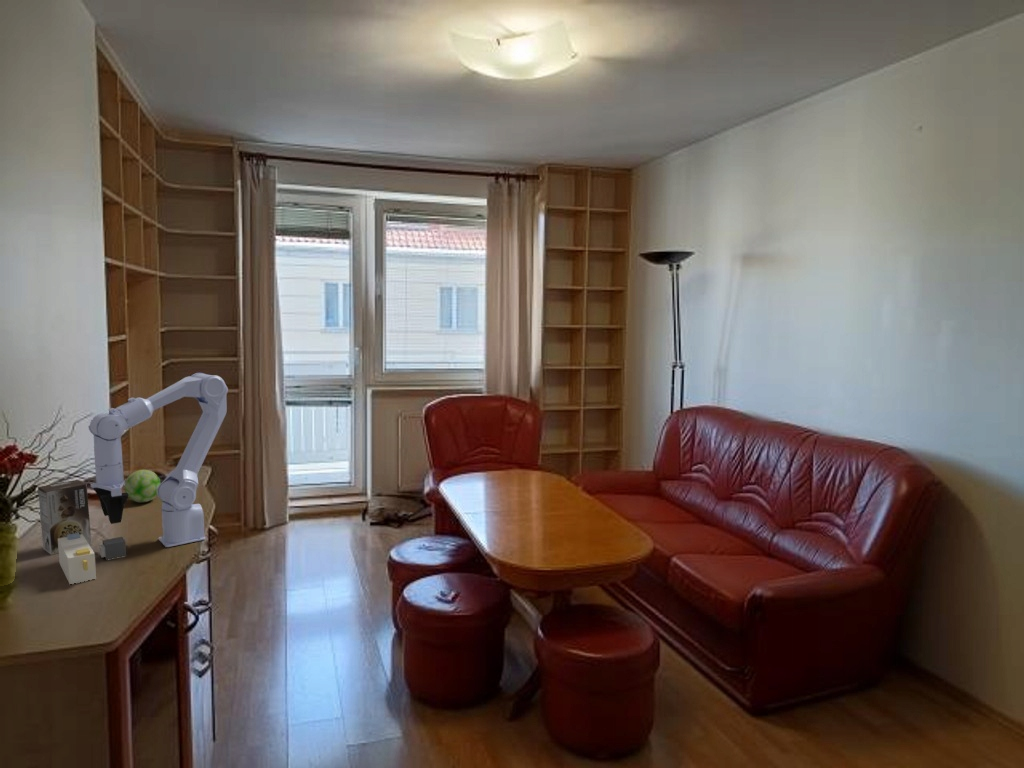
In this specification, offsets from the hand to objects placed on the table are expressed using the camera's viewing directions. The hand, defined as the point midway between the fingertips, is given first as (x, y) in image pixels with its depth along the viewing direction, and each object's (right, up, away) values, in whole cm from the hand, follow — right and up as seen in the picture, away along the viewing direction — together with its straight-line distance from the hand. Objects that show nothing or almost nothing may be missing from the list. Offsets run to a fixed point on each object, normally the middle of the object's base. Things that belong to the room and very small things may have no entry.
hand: (112, 518), depth 167 cm
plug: (0, -9, +1) cm, 10 cm away
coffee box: (-15, -9, +7) cm, 19 cm away
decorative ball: (-17, -4, +46) cm, 49 cm away
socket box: (-3, -10, -8) cm, 14 cm away
